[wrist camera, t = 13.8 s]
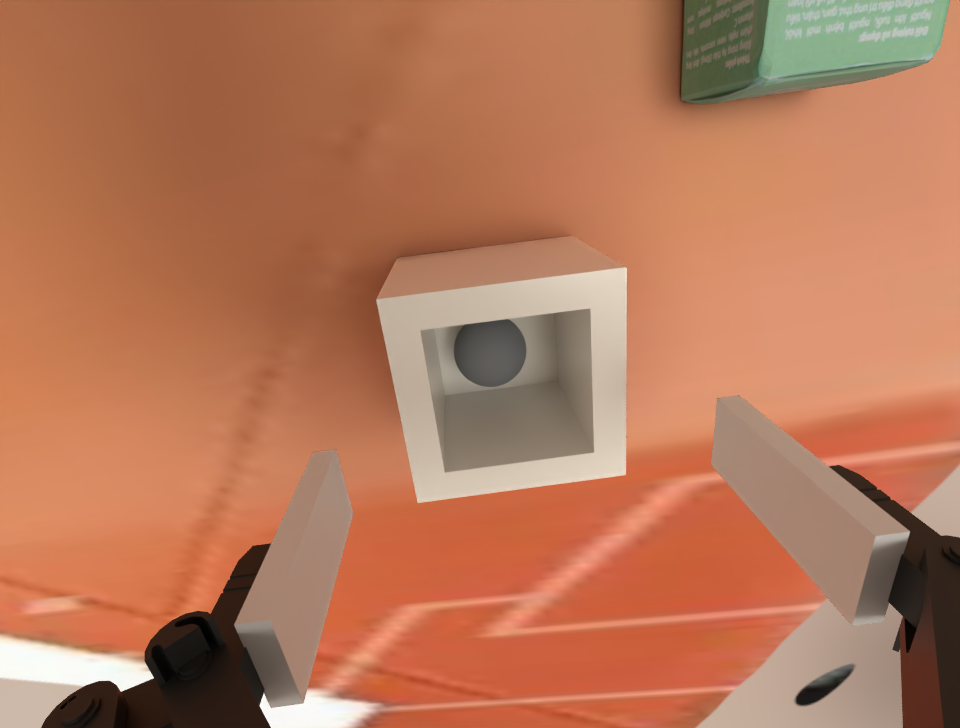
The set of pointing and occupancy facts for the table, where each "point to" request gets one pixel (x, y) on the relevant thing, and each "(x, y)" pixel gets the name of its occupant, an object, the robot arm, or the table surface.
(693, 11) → the box
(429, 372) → the tub
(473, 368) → the ball
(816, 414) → the table surface
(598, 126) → the table surface
